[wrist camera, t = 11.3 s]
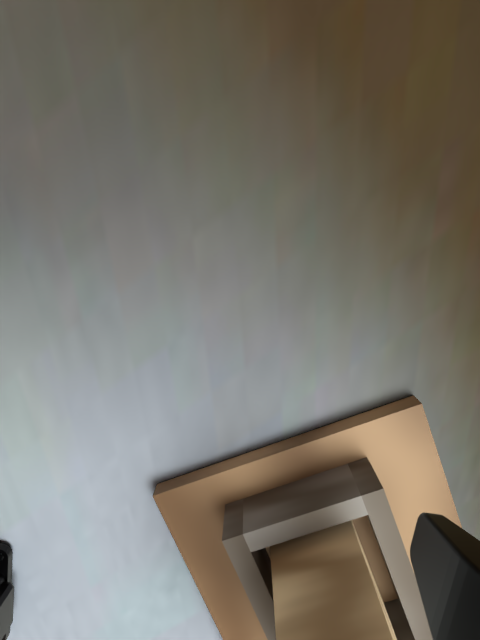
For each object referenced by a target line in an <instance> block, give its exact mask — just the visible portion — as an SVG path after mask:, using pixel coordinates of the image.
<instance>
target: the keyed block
mask: <svg viewBox="0 0 480 640" xmlns="http://www.w3.org/2000/svg"><path fill="white" fill-rule="evenodd" d="M270 555H271V570H272V585H273V600H274V615H275V630H276V640H397V638H396V635H395V633H394V630H393V627H392V624H391V622H390V619H389V616H388V613H387V610H386V608H385V605H384V602H383V599H382V597H381V594H380V591H379V589H378V586H377V583H376V581H375V578H374V576H373V573H372V571H371V568H370V565H369V563H368V560H367V558H366V555H365V553H364V550H363V547H362V545H361V542H360V540H359V537H358V535H357V532H356V530H355V527H354V524H353V522H352V520H351V521H347V522H344V523H341V524H338V525H335V526H332V527H329V528H326V529H322V530H319V531H316V532H313V533H310V534H307V535H304V536H301V537H297V538H294V539H291V540H288V541H285V542H282V543H279V544H276V545H272V546H270Z"/></svg>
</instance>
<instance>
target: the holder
mask: <svg viewBox="0 0 480 640" xmlns="http://www.w3.org/2000/svg"><path fill="white" fill-rule="evenodd" d="M153 498H154V500H155V502H156V504H157V506H158V508H159V510H160V512H161V514H162V516H163V518H164V520H165V522H166V524H167V526H168V528H169V530H170V532H171V534H172V536H173V538H174V540H175V542H176V544H177V547H178V549H179V551H180V553H181V555H182V557H183V559H184V561H185V563H186V565H187V567H188V569H189V571H190V573H191V575H192V577H193V579H194V581H195V583H196V585H197V587H198V589H199V591H200V593H201V595H202V597H203V599H204V601H205V603H206V605H207V607H208V609H209V612H210V614H211V616H212V618H213V620H214V622H215V624H216V626H217V628H218V630H219V632H220V634H221V636H222V638H223V640H276V630H275V615H274V600H273V585H272V570H271V555H270V546H272V545H276V544H279V543H282V542H285V541H288V540H291V539H294V538H297V537H301V536H304V535H307V534H310V533H313V532H316V531H319V530H322V529H326V528H329V527H332V526H335V525H338V524H341V523H344V522H347V521H351V520H352V522H353V524H354V527H355V530H356V532H357V535H358V537H359V540H360V542H361V545H362V547H363V550H364V553H365V555H366V558H367V560H368V563H369V565H370V568H371V571H372V573H373V576H374V578H375V581H376V583H377V586H378V589H379V591H380V594H381V597H382V599H383V602H384V605H385V608H386V610H387V613H388V616H389V619H390V622H391V624H392V627H393V630H394V633H395V635H396V638H397V640H433V638H432V635H431V632H430V628H429V624H428V621H427V617H426V614H425V610H424V606H423V603H422V599H421V595H420V592H419V588H418V585H417V581H416V577H415V574H414V570H413V566H412V563H411V558H410V546H411V542H412V538H413V534H414V531H415V527H416V523H417V519H418V517H419V515H420V514H421V513H423V512H426V513H433V514H440V515H443V516H445V517H446V518H448V519H449V520H451V521H452V522H453V523H455V524H456V525H458V526H459V527H461V528H462V526H461V523H460V520H459V517H458V514H457V511H456V508H455V505H454V502H453V499H452V496H451V492H450V489H449V486H448V483H447V480H446V477H445V474H444V471H443V468H442V465H441V461H440V458H439V455H438V452H437V449H436V446H435V443H434V440H433V437H432V434H431V430H430V427H429V424H428V421H427V418H426V415H425V412H424V409H423V406H422V403H421V402H420V401H419V400H418V399H417V398H416V397H415V396H414V395H413V396H410V397H407V398H405V399H402V400H399V401H396V402H393V403H390V404H387V405H384V406H381V407H379V408H376V409H373V410H370V411H367V412H364V413H361V414H358V415H355V416H352V417H350V418H347V419H344V420H341V421H338V422H335V423H332V424H329V425H326V426H324V427H321V428H318V429H315V430H312V431H309V432H306V433H303V434H300V435H298V436H295V437H292V438H289V439H286V440H283V441H280V442H277V443H274V444H271V445H269V446H266V447H263V448H260V449H257V450H254V451H251V452H248V453H245V454H243V455H240V456H237V457H234V458H231V459H228V460H225V461H222V462H219V463H217V464H214V465H211V466H208V467H205V468H202V469H199V470H196V471H193V472H191V473H188V474H185V475H182V476H179V477H176V478H173V479H170V480H167V481H164V482H162V483H159V484H157V485H156V488H155V491H154V494H153Z"/></svg>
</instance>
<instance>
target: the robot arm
mask: <svg viewBox="0 0 480 640" xmlns="http://www.w3.org/2000/svg"><path fill="white" fill-rule="evenodd" d="M0 553H1V554H2V555H1V554H0V640H6V639H7V637H8V636H9V633H10V625H11V624H12V622H13V600H14V586H13V584H12V582H11V578H12V549H11V548H10V547H9V546H8V545H6V544H3V543H0ZM410 558H411V563H412V566H413V570H414V574H415V577H416V581H417V585H418V588H419V592H420V595H421V599H422V603H423V606H424V610H425V614H426V617H427V621H428V624H429V628H430V632H431V635H432V638H433V640H480V541H479V540H478V539H476V538H475V537H473V536H472V535H471V534H469V533H468V532H466V531H465V530H463V529H462V528H461V527H459V526H458V525H456V524H455V523H453V522H452V521H451V520H449V519H448V518H446V517H445V516H443V515H440V514H433V513H426V512H423V513H421V514H420V515H419V517H418V519H417V523H416V527H415V531H414V534H413V538H412V542H411V546H410Z"/></svg>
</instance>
